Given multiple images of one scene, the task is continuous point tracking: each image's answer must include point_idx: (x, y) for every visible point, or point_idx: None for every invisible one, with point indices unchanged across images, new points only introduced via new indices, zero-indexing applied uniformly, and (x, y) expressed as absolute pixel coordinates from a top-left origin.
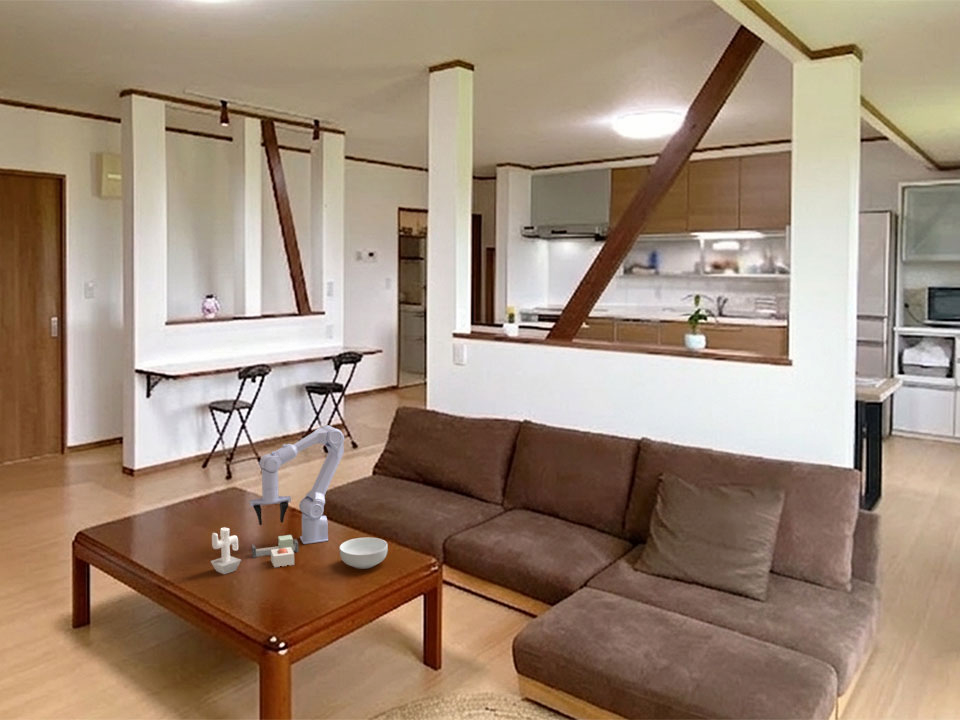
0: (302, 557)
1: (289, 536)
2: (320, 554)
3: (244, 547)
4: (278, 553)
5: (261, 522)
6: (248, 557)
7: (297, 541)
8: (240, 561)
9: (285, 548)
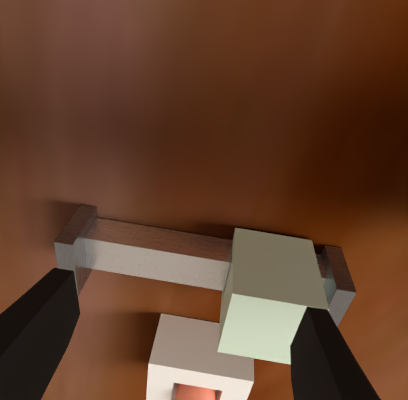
0: None
1: None
2: (388, 355)
3: (32, 56)
4: (176, 392)
5: (63, 347)
6: None
7: (337, 323)
8: None
9: (222, 381)
